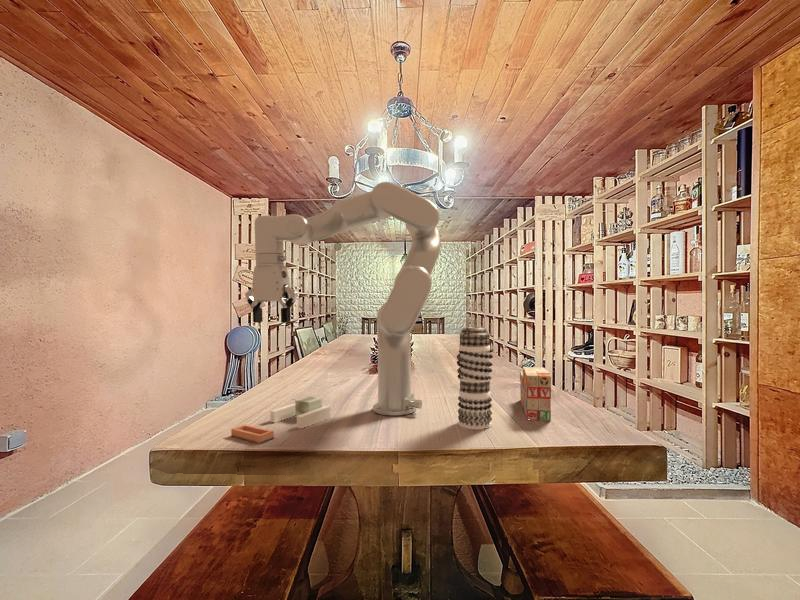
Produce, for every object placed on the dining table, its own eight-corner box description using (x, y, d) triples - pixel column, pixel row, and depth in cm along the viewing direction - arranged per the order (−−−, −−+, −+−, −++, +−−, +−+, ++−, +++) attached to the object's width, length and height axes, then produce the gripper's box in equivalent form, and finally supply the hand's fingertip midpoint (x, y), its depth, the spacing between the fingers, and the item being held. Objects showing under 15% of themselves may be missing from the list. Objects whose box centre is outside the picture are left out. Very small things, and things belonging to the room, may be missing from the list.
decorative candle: (499, 428, 104) (498, 328, 104) (463, 431, 103) (462, 329, 102) (485, 418, 113) (485, 325, 113) (452, 420, 112) (452, 326, 111)
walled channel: (330, 417, 115) (330, 406, 115) (301, 428, 105) (301, 417, 105) (300, 411, 121) (300, 401, 121) (270, 422, 111) (270, 410, 111)
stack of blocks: (519, 400, 132) (519, 361, 132) (540, 401, 131) (540, 362, 131) (526, 420, 111) (526, 374, 111) (551, 422, 110) (551, 375, 110)
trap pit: (273, 438, 99) (273, 431, 98) (260, 443, 95) (259, 436, 95) (245, 431, 104) (245, 424, 104) (231, 436, 100) (231, 428, 100)
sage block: (321, 416, 117) (321, 398, 116) (309, 421, 112) (308, 402, 112) (308, 413, 119) (308, 396, 119) (295, 418, 115) (295, 400, 115)
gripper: (303, 260, 117) (305, 321, 118) (254, 263, 124) (256, 321, 124) (286, 258, 110) (288, 323, 111) (235, 262, 117) (237, 323, 117)
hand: (271, 322), depth 118 cm, fingers open, 9 cm apart
